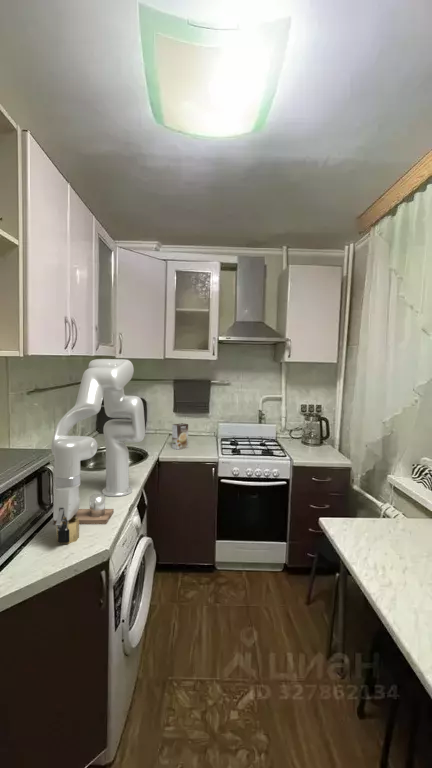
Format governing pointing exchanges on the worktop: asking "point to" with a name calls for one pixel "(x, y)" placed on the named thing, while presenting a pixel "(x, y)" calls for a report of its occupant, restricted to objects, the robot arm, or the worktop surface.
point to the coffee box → (179, 436)
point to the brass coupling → (72, 530)
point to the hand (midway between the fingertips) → (68, 536)
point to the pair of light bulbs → (97, 505)
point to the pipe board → (87, 519)
